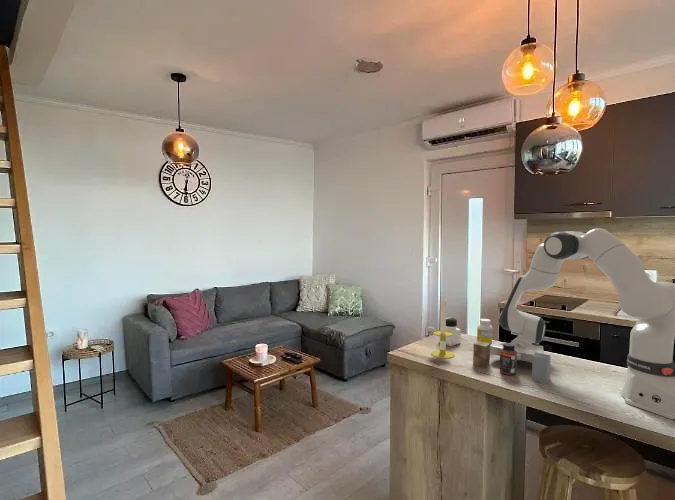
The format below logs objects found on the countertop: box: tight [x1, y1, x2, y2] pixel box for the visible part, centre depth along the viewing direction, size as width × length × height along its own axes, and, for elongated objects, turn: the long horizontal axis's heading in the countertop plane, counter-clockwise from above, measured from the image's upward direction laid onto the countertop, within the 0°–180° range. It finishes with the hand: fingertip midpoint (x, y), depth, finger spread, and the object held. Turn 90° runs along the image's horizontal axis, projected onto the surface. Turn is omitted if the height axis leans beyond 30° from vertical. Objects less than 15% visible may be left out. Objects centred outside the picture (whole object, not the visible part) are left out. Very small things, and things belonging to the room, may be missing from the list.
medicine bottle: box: [439, 317, 462, 347], centre depth 187 cm, size 7×7×12 cm
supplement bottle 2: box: [499, 342, 518, 376], centre depth 150 cm, size 6×6×11 cm
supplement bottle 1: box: [476, 318, 494, 345], centre depth 181 cm, size 7×7×13 cm
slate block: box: [531, 353, 552, 384], centre depth 144 cm, size 5×5×9 cm
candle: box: [430, 295, 455, 360], centre depth 170 cm, size 10×10×27 cm
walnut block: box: [472, 340, 491, 369], centre depth 158 cm, size 5×5×9 cm
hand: (510, 358), depth 152 cm, fingers closed, pressing on supplement bottle 2
